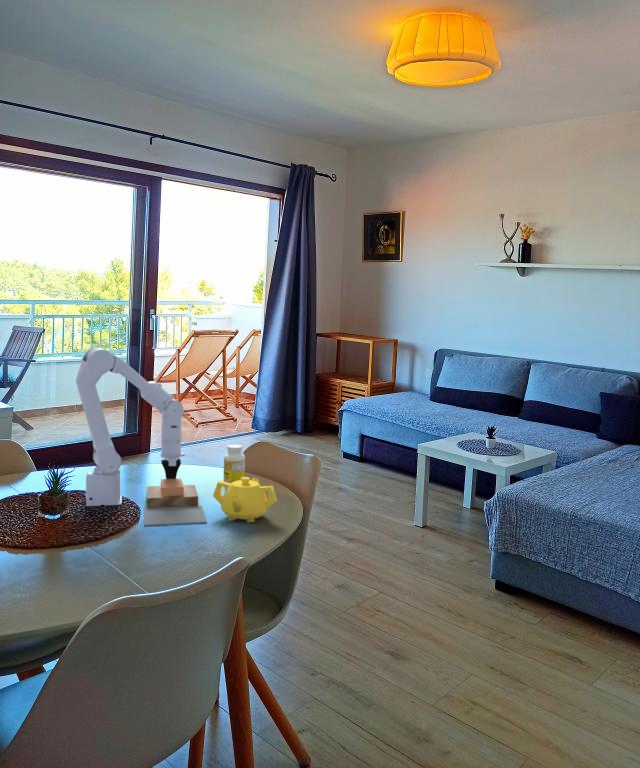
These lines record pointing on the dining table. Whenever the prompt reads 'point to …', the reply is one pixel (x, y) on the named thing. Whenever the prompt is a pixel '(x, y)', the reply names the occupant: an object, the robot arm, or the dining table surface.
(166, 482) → the orange flat block
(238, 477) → the supplement bottle
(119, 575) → the dining table surface
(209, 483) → the dining table surface
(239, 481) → the teapot
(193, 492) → the stand
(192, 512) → the mat
